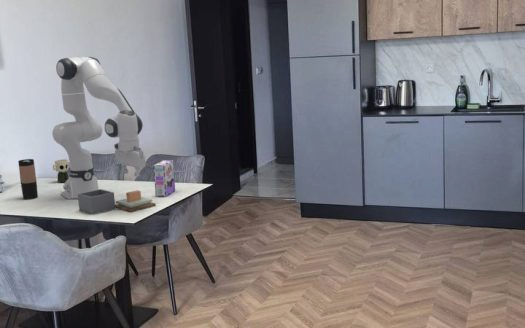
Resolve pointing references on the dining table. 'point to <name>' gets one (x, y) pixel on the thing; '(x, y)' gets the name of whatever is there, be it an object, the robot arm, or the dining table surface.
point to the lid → (134, 199)
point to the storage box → (96, 201)
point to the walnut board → (134, 207)
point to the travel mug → (28, 179)
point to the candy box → (164, 178)
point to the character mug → (61, 169)
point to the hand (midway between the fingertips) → (131, 174)
